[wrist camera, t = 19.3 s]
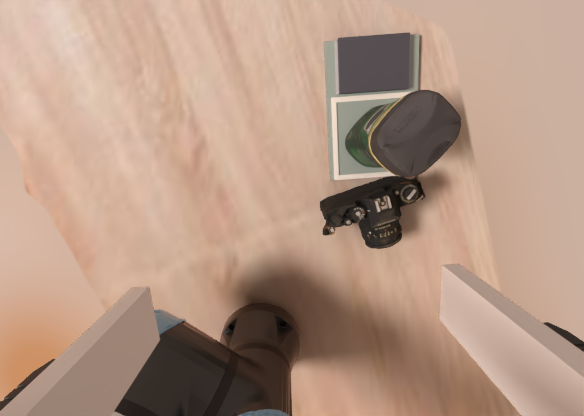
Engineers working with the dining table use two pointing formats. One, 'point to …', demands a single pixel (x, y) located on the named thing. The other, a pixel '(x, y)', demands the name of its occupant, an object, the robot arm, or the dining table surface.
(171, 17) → the dining table surface
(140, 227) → the dining table surface
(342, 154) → the board
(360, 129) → the coffee jar
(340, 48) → the pad
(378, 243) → the film camera
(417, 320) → the dining table surface
